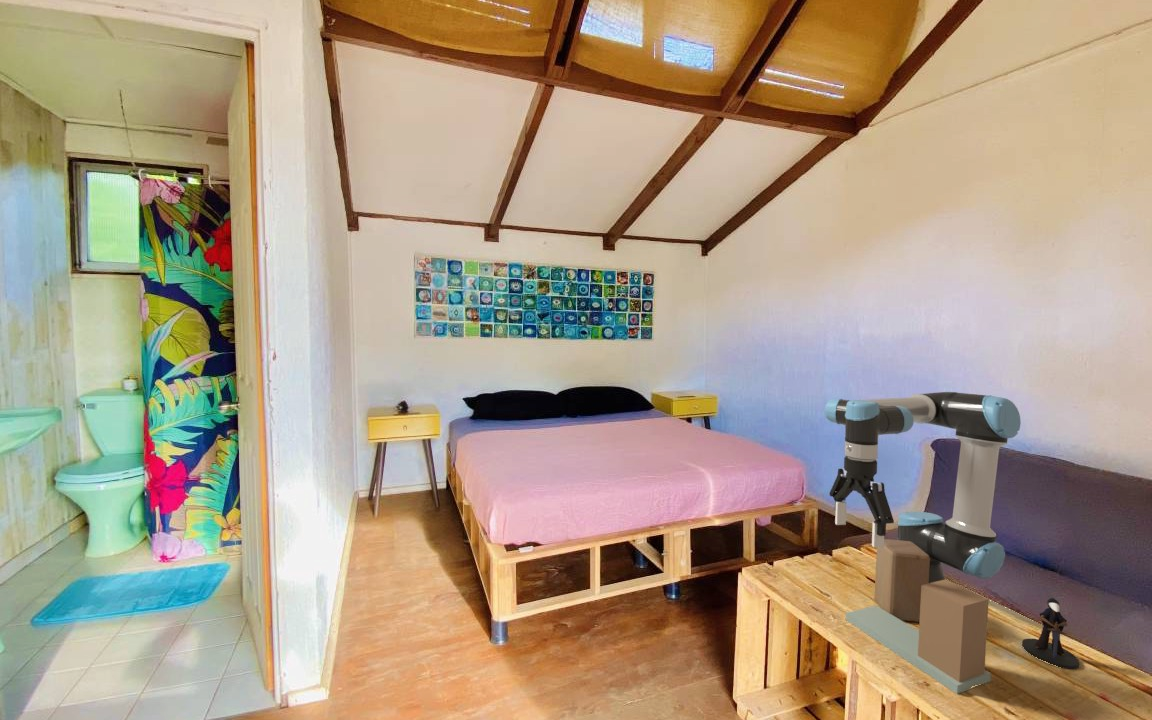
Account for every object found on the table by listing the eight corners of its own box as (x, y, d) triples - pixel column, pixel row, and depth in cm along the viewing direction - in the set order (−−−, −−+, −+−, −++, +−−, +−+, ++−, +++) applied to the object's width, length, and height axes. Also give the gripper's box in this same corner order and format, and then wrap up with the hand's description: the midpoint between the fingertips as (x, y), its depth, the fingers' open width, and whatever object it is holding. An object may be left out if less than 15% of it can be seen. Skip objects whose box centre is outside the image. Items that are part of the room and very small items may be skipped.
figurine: (1027, 658, 112) (1031, 600, 112) (1017, 636, 121) (1021, 583, 120) (1086, 675, 107) (1090, 615, 106) (1071, 652, 115) (1075, 596, 114)
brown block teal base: (875, 612, 131) (878, 545, 130) (990, 681, 104) (995, 599, 103) (845, 619, 127) (848, 551, 126) (956, 694, 100) (961, 608, 99)
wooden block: (928, 624, 125) (931, 555, 124) (888, 619, 127) (892, 551, 126) (909, 604, 135) (912, 540, 134) (872, 599, 137) (875, 536, 136)
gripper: (817, 446, 131) (815, 516, 132) (885, 472, 106) (882, 558, 107) (840, 446, 132) (838, 515, 133) (913, 471, 107) (910, 556, 108)
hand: (858, 534), depth 120 cm, fingers open, 13 cm apart
